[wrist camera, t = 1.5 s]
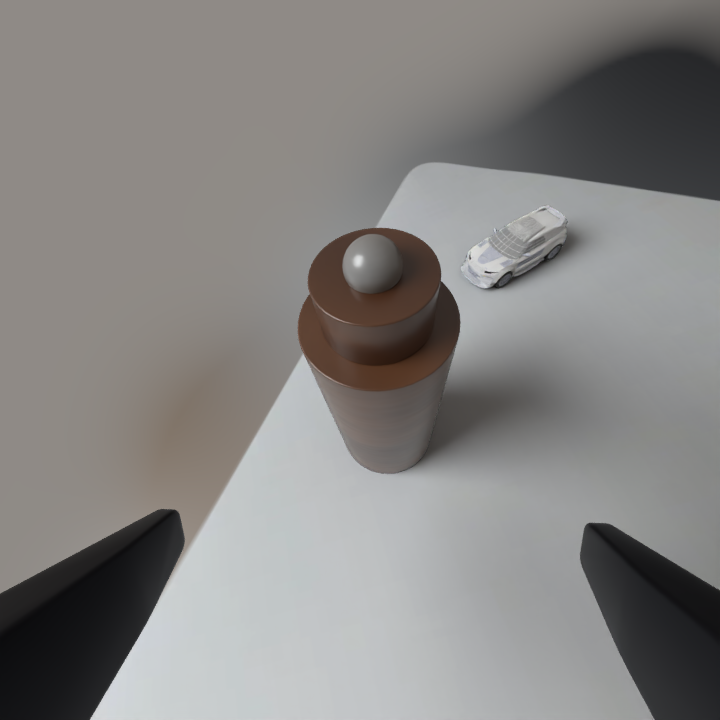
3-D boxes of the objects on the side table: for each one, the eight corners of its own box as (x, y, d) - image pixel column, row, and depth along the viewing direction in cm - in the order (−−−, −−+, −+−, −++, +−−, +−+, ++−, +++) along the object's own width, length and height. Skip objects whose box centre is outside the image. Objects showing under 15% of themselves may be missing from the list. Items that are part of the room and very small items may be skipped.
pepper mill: (414, 488, 18) (445, 360, 6) (329, 453, 20) (224, 293, 8) (441, 405, 21) (502, 194, 9) (363, 379, 22) (322, 167, 10)
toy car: (451, 269, 26) (457, 237, 24) (530, 227, 28) (543, 193, 25) (484, 298, 24) (494, 268, 22) (566, 252, 26) (584, 218, 23)
